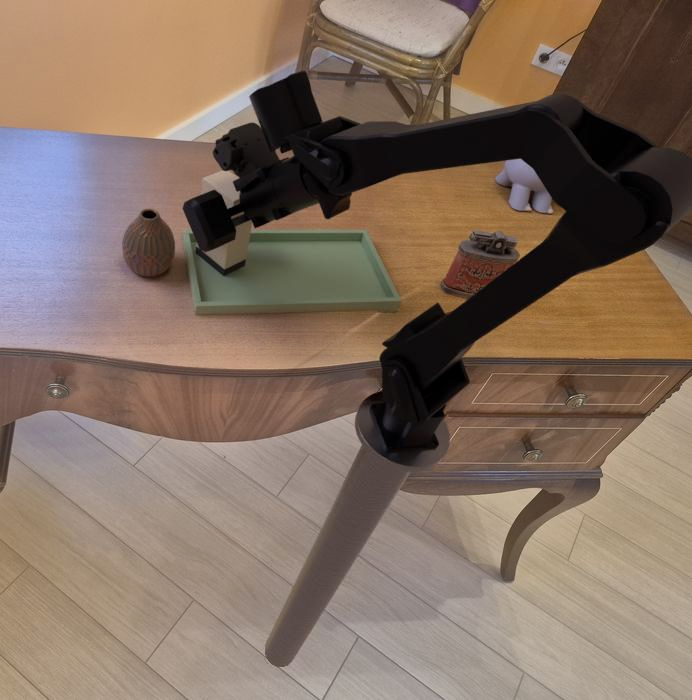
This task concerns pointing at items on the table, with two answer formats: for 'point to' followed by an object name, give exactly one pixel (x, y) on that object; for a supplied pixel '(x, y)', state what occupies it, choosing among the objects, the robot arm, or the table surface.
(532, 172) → the hippopotamus toy
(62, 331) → the table surface
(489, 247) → the lighter
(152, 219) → the vase
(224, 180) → the eraser
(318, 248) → the tray
